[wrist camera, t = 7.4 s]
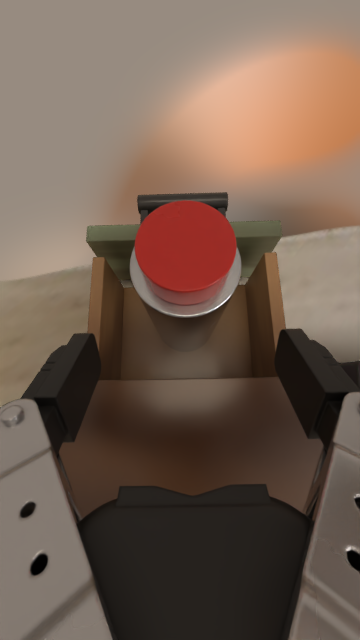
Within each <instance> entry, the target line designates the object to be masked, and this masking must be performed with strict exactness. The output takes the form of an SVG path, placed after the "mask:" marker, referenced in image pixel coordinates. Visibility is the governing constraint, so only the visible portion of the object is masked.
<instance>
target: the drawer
mask: <svg viewBox="0 0 360 640" xmlns="http://www.w3.org/2000/svg"><path fill="white" fill-rule="evenodd" d="M183 200H189V201H197V202H201V203H204V204H207V205H209V206H211V207H213V208H215V209H216V210H218V211H219V212H220V213H221V214H222V215H224V216H225V218H226V214H225V212H226V211H227V206H228V194H227V193H226V192H225V193H195V194H194V193H193V194H192V193H190V194H157V195H138V199H137V201H138V211H139V213H140V214H141V224H142V222H143V221H144V219H145V218H146V217H147V216H148V215H149V214H150V213H151V212H153V211H154V210H155V209H157V208H159V207H160V206H163V205H165V204H168V203H171V202H175V201H183ZM229 223H230V224H231V226H232V228H233V231H234V233H235V237H236V243H237V248H238V250H239V253H240V257H241V269H242V270H241V277H249V279H248V281H247V282H246V284H245V285H238V286H237V288H236V290H235V292H234V294H233V296H232V298H231V299H230V301H229V303H228V305H227V307H226V309H225V311H224V312H223V314H222V316H221V318H220V320H219V322H218V324H217V325H216V327H215V329H214V331H213V333H212V335H211V337H210V338H209V340H208V341H207V343H206V344H205V345H203V346H202V347H201V348H199V349H197V350H195V351H191V352H180V351H176V350H174V349H172V348H170V347H168V346H167V345H166V344H165V343H164V342H163V340H162V339H161V337H160V335H159V333H158V331H157V330H156V328H155V326H154V324H153V322H152V320H151V318H150V316H149V315H148V313H147V311H146V309H145V307H144V305H143V303H142V301H141V300H140V298H139V296H138V294H137V292H136V290H135V288H124V287H123V285H122V284H121V282H120V281H119V280H131V276H130V258H131V254H132V251H133V249H134V246H135V238H136V234H137V232H138V229H139V227H140V225H141V224H139V225H103V226H88V227H87V237H86V241H87V243H88V244H89V246H90V247H91V248H92V250H93V251H94V253H95V254H96V256H97V257H94V258H93V264H92V278H91V292H90V305H89V319H88V333H93V334H94V335H95V338H96V342H97V347H98V351H99V355H100V359H101V374H100V377H99V380H142V379H196V378H249V377H278V375H277V373H276V370H275V366H274V357H275V352H276V348H277V343H278V338H279V333H280V331H281V330H282V329H286V327H285V319H284V310H283V302H282V294H281V286H280V278H279V270H278V262H277V254H276V252H274V253H271V252H272V251H273V249H274V248H275V246H276V245H277V243H278V242H279V240H280V239H281V237H282V229H281V222H280V221H246V222H229Z"/></svg>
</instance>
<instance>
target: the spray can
mask: <svg viewBox="0 0 360 640" xmlns="http://www.w3.org/2000/svg"><path fill="white" fill-rule="evenodd" d="M241 270H242V269H241V257H240V253H239V250H238V248H237V243H236V237H235V233H234V231H233V228H232V226H231V224H230V223H229V221H228V220H227V219H226V218H225V216H224V215H222V214H221V213H220V212H219V211H218V210H216V209H215V208H213V207H211V206H209V205H207V204H204V203H201V202H197V201H189V200H183V201H175V202H171V203H168V204H165V205H163V206H160V207H159V208H157V209H155V210H154V211H153V212H151V213H150V214H149V215H148V216H147V217H146V218H145V219H144V221H143V222H142V224H141V225H140V227H139V229H138V232H137V234H136V238H135V246H134V249H133V251H132V254H131V258H130V276H131V280H132V283H133V286H134V288H135V290H136V292H137V294H138V296H139V298H140V300H141V301H142V303H143V305H144V307H145V309H146V311H147V313H148V315H149V316H150V318H151V320H152V322H153V324H154V326H155V328H156V330H157V331H158V333H159V335H160V337H161V339H162V340H163V342H164V343H165V344H166V345H167V346H168V347H170V348H172V349H174V350H176V351H180V352H191V351H195V350H197V349H199V348H201V347H202V346H203V345H205V344H206V343H207V341H208V340H209V338H210V337H211V335H212V333H213V331H214V329H215V327H216V325H217V324H218V322H219V320H220V318H221V316H222V314H223V312H224V311H225V309H226V307H227V305H228V303H229V301H230V299H231V298H232V296H233V294H234V292H235V290H236V288H237V286H238V284H239V280H240V277H241Z"/></svg>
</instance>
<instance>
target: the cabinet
mask: <svg viewBox="0 0 360 640" xmlns="http://www.w3.org/2000/svg"><path fill="white" fill-rule="evenodd" d="M322 447H323V443H322V441H321V439H308V438H307V436H306V434H305V432H304V430H303V428H302V426H301V423H300V421H299V419H298V417H297V415H296V413H295V411H294V409H293V407H292V405H291V402H290V400H289V398H288V396H287V394H286V392H285V390H284V388H283V386H282V383H281V381H280V379H279V377H249V378H196V379H142V380H98V382H97V385H96V387H95V390H94V393H93V395H92V398H91V400H90V403H89V405H88V408H87V411H86V413H85V416H84V418H83V421H82V424H81V426H80V429H79V431H78V434H77V437H76V439H75V442H70V443H62V445H61V448H60V450H59V453H60V456H61V458H62V461H63V464H64V467H65V469H66V472H67V475H68V477H69V480H70V483H71V486H72V488H73V491H74V494H75V497H76V499H77V502H78V504H79V507H80V509H81V511H82V514H83V516H84V517H85V516H86V515H88V514H89V513H90V512H92V511H93V510H94V509H96V508H98V507H99V506H101V505H103V504H105V503H107V502H109V501H111V500H114V499H117V497H118V491H119V486H158V487H162V488H165V489H169V490H173V491H176V492H180V493H183V494H187V495H191V496H193V495H198V494H201V493H205V492H208V491H211V490H214V489H217V488H220V487H223V486H227V485H230V484H266V485H267V489H268V493H269V496H270V497H274V498H276V499H279V500H281V501H284V502H285V503H287V504H289V505H291V506H293V507H294V508H296V509H297V510H299V511H300V512H302V510H303V508H304V505H305V502H306V500H307V497H308V494H309V490H310V487H311V484H312V480H313V477H314V473H315V470H316V466H317V463H318V460H319V456H320V453H321V450H322Z"/></svg>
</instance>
